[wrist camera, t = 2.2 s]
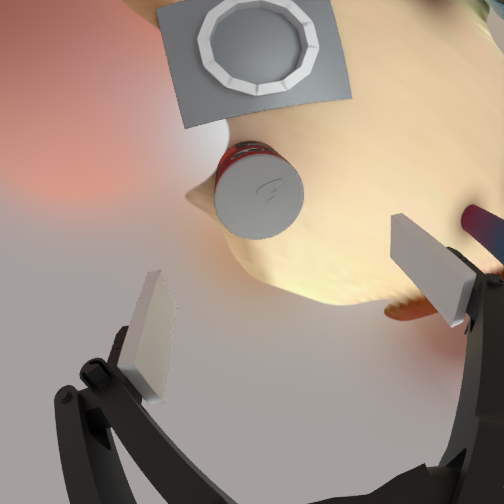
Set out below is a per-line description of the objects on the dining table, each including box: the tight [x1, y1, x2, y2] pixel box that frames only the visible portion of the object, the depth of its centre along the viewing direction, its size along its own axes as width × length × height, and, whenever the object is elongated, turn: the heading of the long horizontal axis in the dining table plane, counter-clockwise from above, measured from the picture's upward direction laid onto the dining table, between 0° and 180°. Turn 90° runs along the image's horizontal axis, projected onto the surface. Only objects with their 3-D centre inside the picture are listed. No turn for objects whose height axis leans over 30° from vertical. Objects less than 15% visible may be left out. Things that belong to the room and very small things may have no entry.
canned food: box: [214, 141, 304, 240], centre depth 29 cm, size 8×8×11 cm
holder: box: [156, 0, 352, 129], centre depth 25 cm, size 16×20×4 cm
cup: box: [461, 205, 504, 265], centre depth 34 cm, size 7×7×15 cm
